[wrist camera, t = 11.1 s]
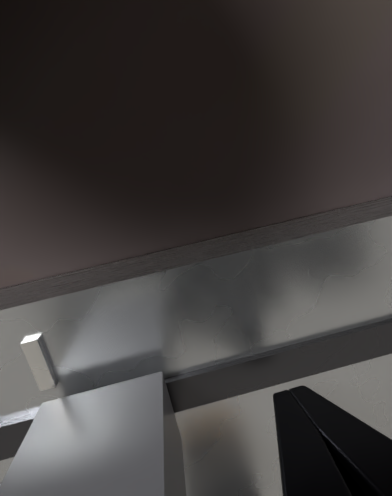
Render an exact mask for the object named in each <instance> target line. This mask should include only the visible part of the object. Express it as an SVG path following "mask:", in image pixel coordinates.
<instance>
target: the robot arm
mask: <svg viewBox="0 0 392 496" xmlns="http://www.w3.org/2000/svg"><path fill="white" fill-rule="evenodd" d="M273 403H274V413H275V423H276V433H277V443H278V453H279V463H280V473H281V483H282V493H283V496H392V439H390V438H388V437H387V436H385V435H384V434H382V433H380V432H379V431H377V430H376V429H374V428H372V427H371V426H369V425H368V424H366V423H364V422H363V421H361V420H359V419H358V418H356V417H355V416H353V415H351V414H350V413H348V412H347V411H345V410H343V409H342V408H340V407H339V406H337V405H335V404H334V403H332V402H331V401H329V400H327V399H326V398H324V397H322V396H321V395H319V394H318V393H316V392H314V391H313V390H311V389H310V388H308V387H306V386H303V385H302V386H298V387H294V388H291V389H289V390H284V391H280V392H277V393H274V394H273Z"/></svg>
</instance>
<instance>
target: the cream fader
mask: <svg viewBox="0 0 392 496" xmlns="http://www.w3.org/2000/svg"><path fill="white" fill-rule="evenodd" d="M0 496H186V485H185V473H184V462H183V450H182V439H181V435H180V432H179V428H178V425H177V421H176V418H175V414H174V411H173V407H172V404H171V400H170V397H169V393H168V389H167V386H166V382H165V379H164V375H163V372H162V371H161V372H157V373H154V374H150V375H146V376H142V377H138V378H135V379H131V380H127V381H123V382H120V383H116V384H112V385H108V386H104V387H101V388H97V389H93V390H89V391H85V392H82V393H78V394H74V395H70V396H66V397H63V398H59V399H55V400H51V401H47V402H44V403H42V404H41V406H40V408H39V410H38V412H37V414H36V416H35V418H34V420H33V422H32V424H31V426H30V428H29V430H28V432H27V434H26V436H25V438H24V440H23V442H22V444H21V446H20V448H19V449H18V451H17V453H16V455H15V457H14V459H13V461H12V463H11V465H10V467H9V469H8V471H7V473H6V475H5V477H4V479H3V481H2V483H1V485H0Z"/></svg>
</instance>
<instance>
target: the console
mask: <svg viewBox="0 0 392 496" xmlns="http://www.w3.org/2000/svg"><path fill="white" fill-rule="evenodd" d="M161 371H162V372H163V375H164V379H165V382H166V386H167V389H168V393H169V397H170V400H171V404H172V407H173V411H174V414H175V418H176V421H177V425H178V428H179V432H180V435H181V439H182V450H183V462H184V473H185V485H186V496H283V493H282V483H281V473H280V463H279V453H278V443H277V433H276V423H275V413H274V403H273V394H274V393H277V392H280V391H284V390H289V389H291V388H294V387H298V386H302V385H303V386H306V387H308V388H310V389H311V390H313V391H314V392H316V393H318V394H319V395H321V396H322V397H324V398H326V399H327V400H329V401H331V402H332V403H334V404H335V405H337V406H339V407H340V408H342V409H343V410H345V411H347V412H348V413H350V414H351V415H353V416H355V417H356V418H358V419H359V420H361V421H363V422H364V423H366V424H368V425H369V426H371V427H372V428H374V429H376V430H377V431H379V432H380V433H382V434H384V435H385V436H387V437H388V438H390V439H392V196H391V197H387V198H383V199H379V200H375V201H370V202H366V203H362V204H358V205H353V206H349V207H345V208H341V209H337V210H332V211H328V212H324V213H320V214H315V215H311V216H307V217H303V218H299V219H294V220H290V221H286V222H282V223H277V224H273V225H269V226H265V227H261V228H256V229H252V230H248V231H244V232H239V233H235V234H231V235H227V236H223V237H218V238H214V239H210V240H206V241H201V242H197V243H193V244H189V245H185V246H180V247H176V248H172V249H168V250H163V251H159V252H155V253H151V254H147V255H142V256H138V257H134V258H130V259H125V260H121V261H117V262H113V263H109V264H104V265H100V266H96V267H92V268H87V269H83V270H79V271H75V272H71V273H66V274H62V275H58V276H54V277H49V278H45V279H41V280H37V281H33V282H28V283H24V284H20V285H16V286H11V287H7V288H3V289H0V485H1V483H2V481H3V479H4V477H5V475H6V473H7V471H8V469H9V467H10V465H11V463H12V461H13V459H14V457H15V455H16V453H17V451H18V449H19V448H20V446H21V444H22V442H23V440H24V438H25V436H26V434H27V432H28V430H29V428H30V426H31V424H32V422H33V420H34V418H35V416H36V414H37V412H38V410H39V408H40V406H41V404H42V403H44V402H47V401H51V400H55V399H59V398H63V397H66V396H70V395H74V394H78V393H82V392H85V391H89V390H93V389H97V388H101V387H104V386H108V385H112V384H116V383H120V382H123V381H127V380H131V379H135V378H138V377H142V376H146V375H150V374H154V373H157V372H161Z"/></svg>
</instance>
